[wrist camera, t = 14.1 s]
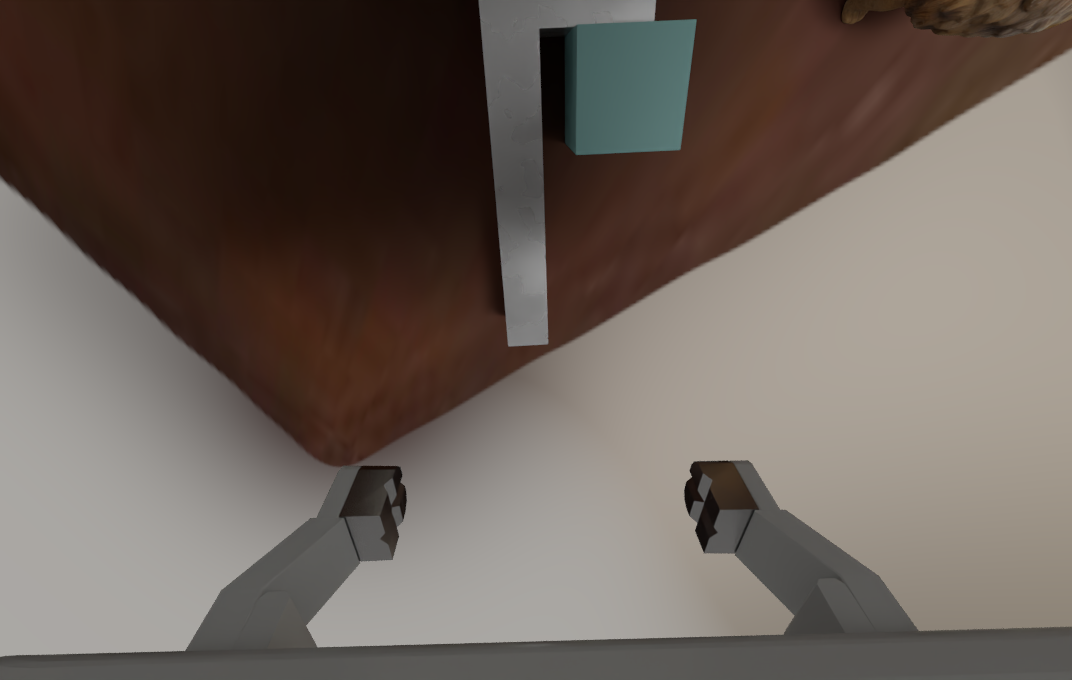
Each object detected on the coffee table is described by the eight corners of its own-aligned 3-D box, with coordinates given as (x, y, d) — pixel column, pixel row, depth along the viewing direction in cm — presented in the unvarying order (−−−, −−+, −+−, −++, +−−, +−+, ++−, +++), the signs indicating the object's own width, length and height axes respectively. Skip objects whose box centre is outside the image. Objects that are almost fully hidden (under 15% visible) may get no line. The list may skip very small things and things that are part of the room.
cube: (660, 32, 22) (696, 19, 18) (650, 139, 24) (680, 149, 20) (564, 37, 22) (577, 24, 17) (564, 143, 24) (576, 154, 20)
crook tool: (634, -17, 21) (659, -38, 17) (614, 310, 30) (627, 339, 27) (481, -11, 21) (476, -30, 17) (508, 316, 30) (508, 346, 26)
